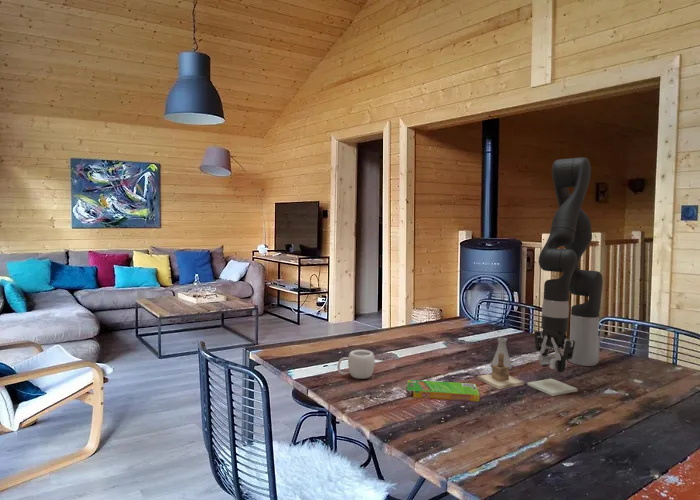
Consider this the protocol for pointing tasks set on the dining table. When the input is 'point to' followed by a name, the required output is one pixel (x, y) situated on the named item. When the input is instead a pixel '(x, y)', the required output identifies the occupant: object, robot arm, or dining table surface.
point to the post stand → (500, 376)
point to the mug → (359, 364)
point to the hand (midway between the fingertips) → (552, 368)
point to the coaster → (552, 387)
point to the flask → (502, 349)
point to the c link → (550, 360)
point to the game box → (443, 390)
